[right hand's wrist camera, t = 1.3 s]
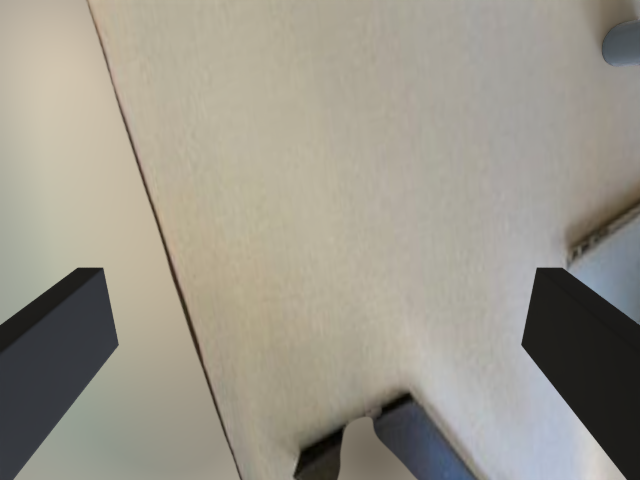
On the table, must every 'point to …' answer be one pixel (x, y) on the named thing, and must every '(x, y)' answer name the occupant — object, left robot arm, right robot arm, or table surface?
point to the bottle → (623, 44)
